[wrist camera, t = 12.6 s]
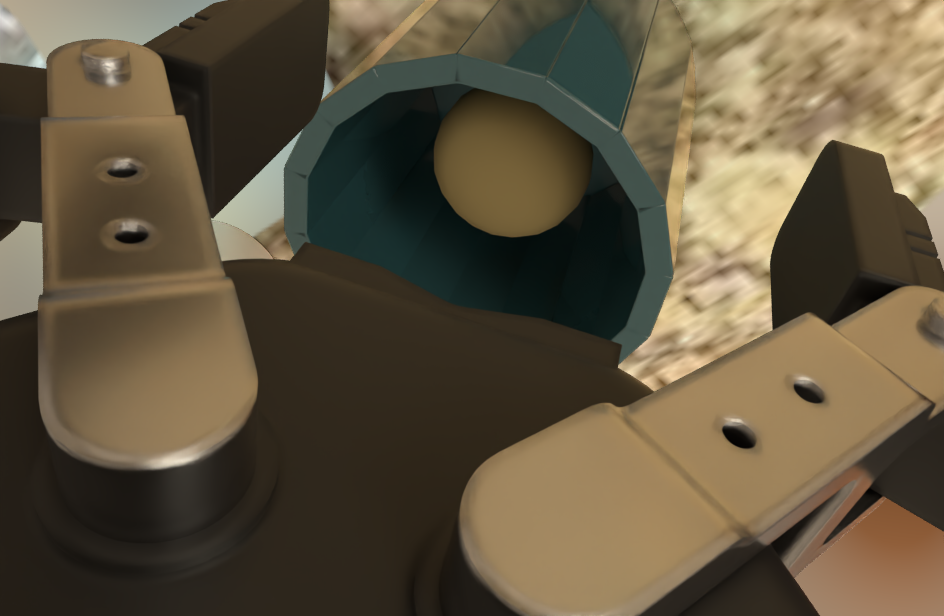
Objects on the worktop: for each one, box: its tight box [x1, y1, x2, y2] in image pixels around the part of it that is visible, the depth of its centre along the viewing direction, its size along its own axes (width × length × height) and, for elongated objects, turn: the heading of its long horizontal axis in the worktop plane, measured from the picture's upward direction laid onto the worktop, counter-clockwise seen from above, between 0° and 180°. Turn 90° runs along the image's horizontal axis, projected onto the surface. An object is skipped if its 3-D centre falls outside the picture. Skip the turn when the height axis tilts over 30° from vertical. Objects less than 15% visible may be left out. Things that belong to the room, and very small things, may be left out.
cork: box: [434, 88, 594, 237], centre depth 29 cm, size 6×6×11 cm
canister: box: [284, 0, 696, 365], centre depth 29 cm, size 12×12×14 cm
